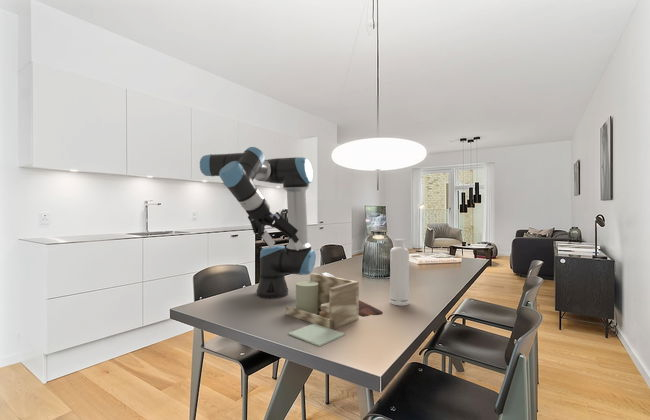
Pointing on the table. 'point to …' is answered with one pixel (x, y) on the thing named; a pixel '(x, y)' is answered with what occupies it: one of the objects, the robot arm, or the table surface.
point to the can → (307, 296)
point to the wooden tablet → (368, 309)
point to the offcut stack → (325, 310)
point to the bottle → (399, 273)
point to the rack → (332, 302)
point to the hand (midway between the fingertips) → (285, 246)
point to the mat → (316, 334)
